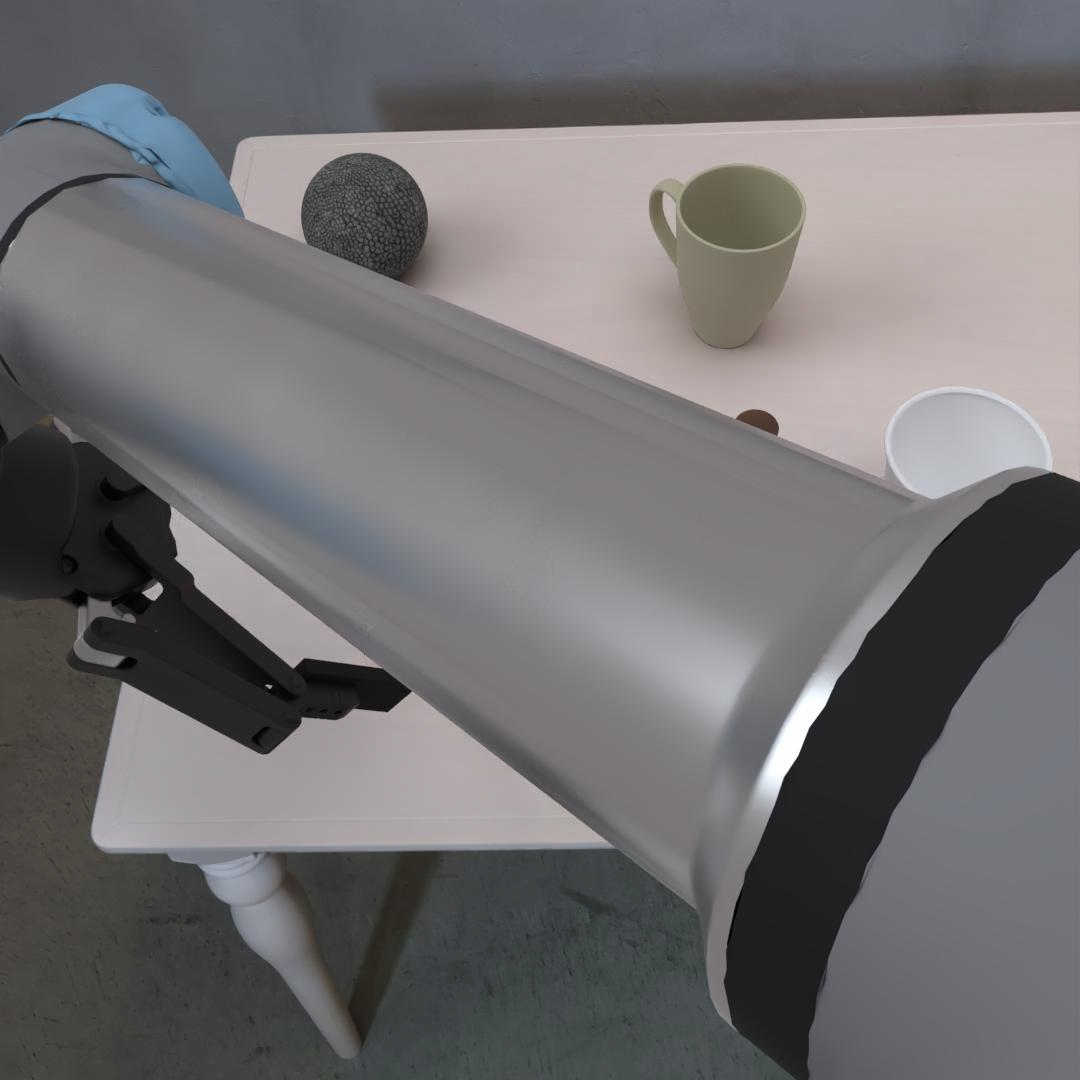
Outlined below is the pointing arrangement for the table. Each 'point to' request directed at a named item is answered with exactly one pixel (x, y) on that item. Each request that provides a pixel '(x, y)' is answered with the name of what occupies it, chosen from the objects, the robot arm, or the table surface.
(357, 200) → the decorative ball
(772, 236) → the mug
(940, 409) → the cup
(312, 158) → the table surface
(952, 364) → the table surface
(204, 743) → the table surface
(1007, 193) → the table surface
